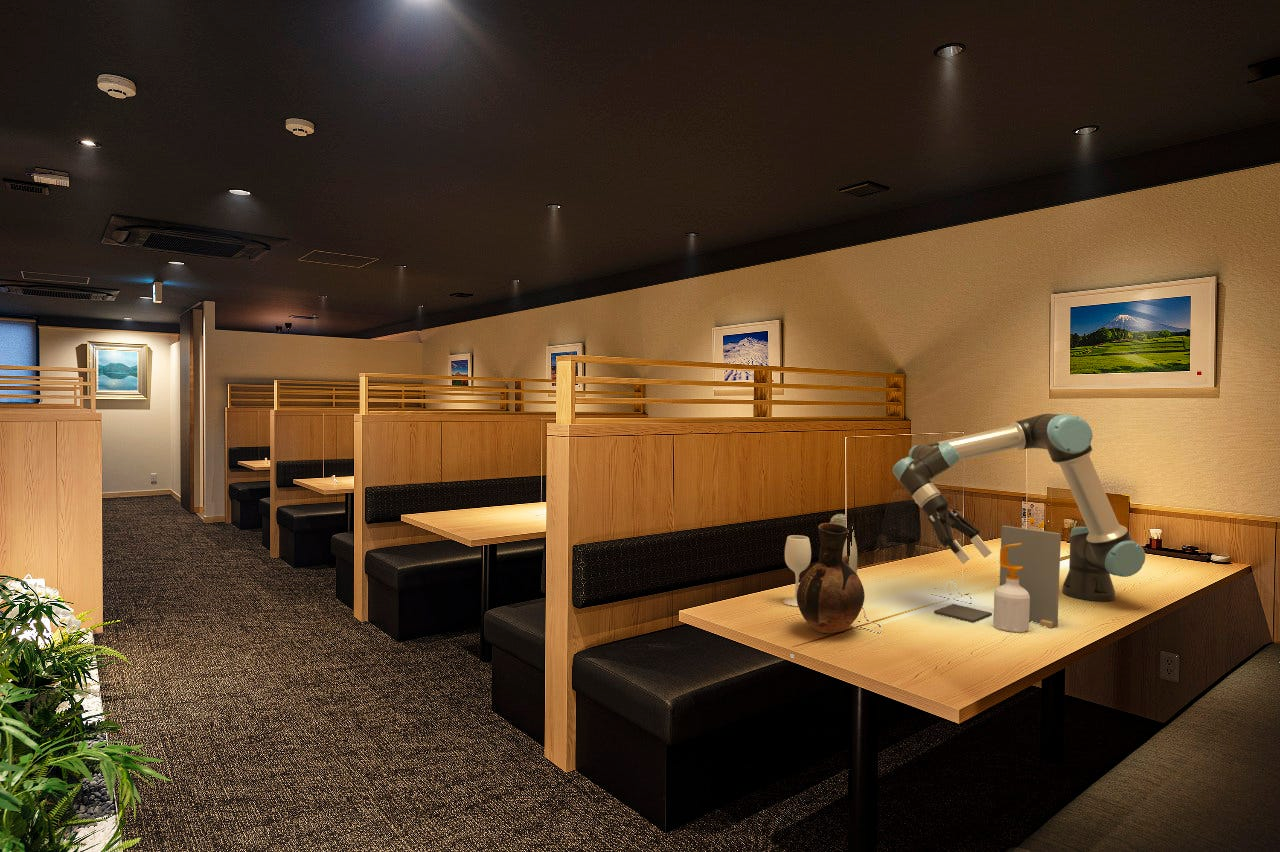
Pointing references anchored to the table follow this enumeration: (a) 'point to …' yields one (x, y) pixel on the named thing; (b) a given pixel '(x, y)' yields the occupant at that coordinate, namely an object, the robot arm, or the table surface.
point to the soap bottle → (1011, 599)
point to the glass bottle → (841, 520)
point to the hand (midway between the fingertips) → (977, 558)
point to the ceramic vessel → (831, 585)
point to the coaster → (963, 613)
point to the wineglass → (797, 559)
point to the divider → (1035, 569)
